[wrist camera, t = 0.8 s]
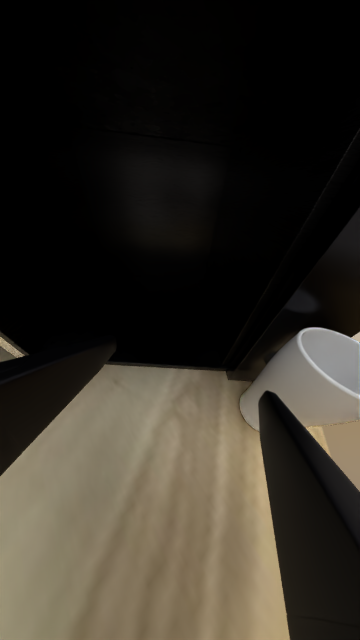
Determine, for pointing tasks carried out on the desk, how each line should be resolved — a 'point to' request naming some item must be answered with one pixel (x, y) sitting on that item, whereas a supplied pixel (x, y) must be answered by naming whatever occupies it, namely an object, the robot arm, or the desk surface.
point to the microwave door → (5, 355)
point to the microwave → (179, 177)
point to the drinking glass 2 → (311, 379)
